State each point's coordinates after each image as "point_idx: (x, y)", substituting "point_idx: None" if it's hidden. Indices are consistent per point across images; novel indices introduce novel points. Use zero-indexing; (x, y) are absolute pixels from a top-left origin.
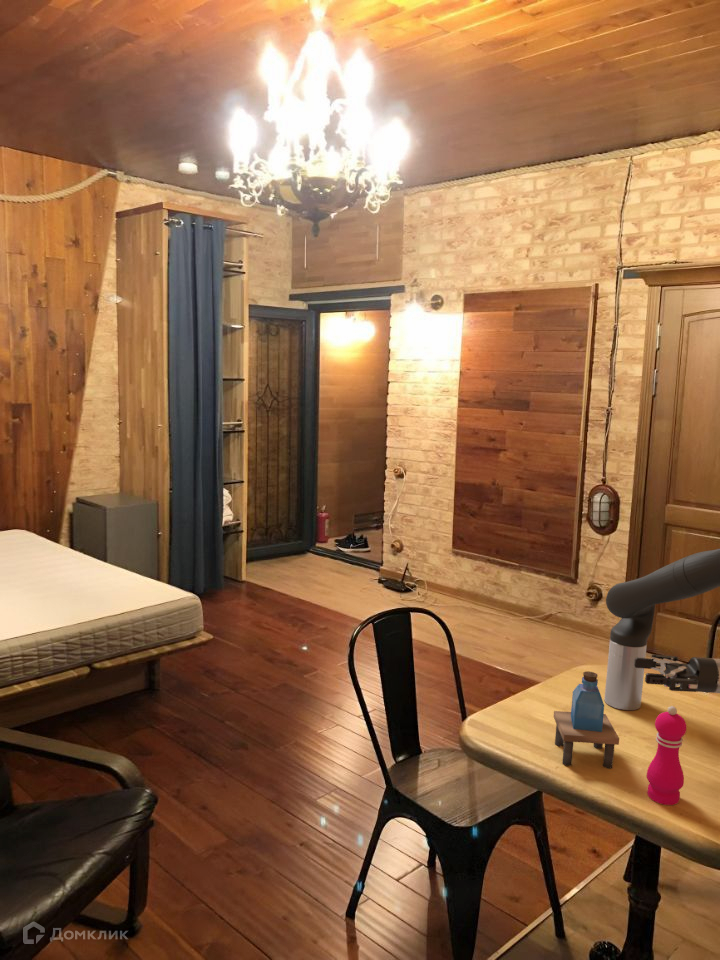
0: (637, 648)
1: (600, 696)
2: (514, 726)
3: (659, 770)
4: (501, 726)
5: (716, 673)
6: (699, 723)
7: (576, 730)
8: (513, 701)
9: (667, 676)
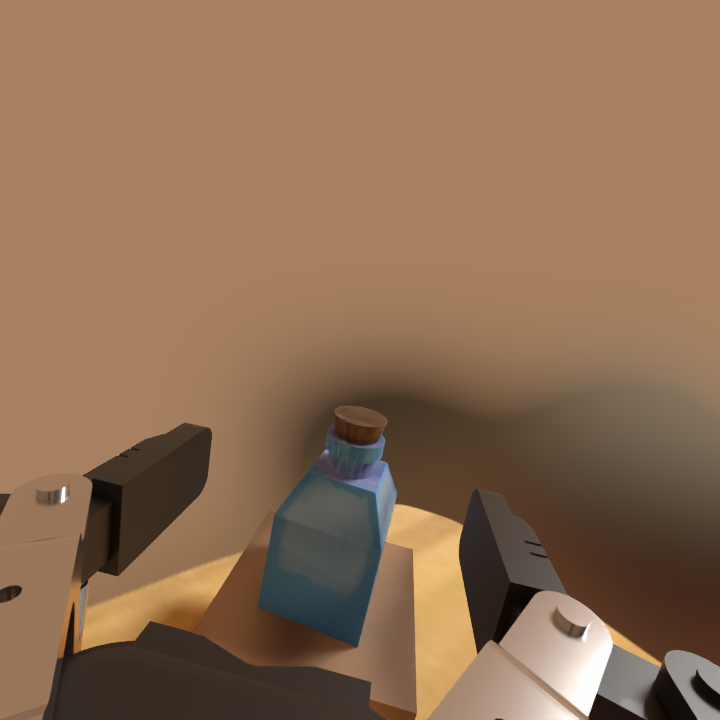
0: None
1: (298, 483)
2: (455, 578)
3: None
4: (448, 556)
5: None
6: None
7: None
8: (610, 633)
9: (38, 479)
